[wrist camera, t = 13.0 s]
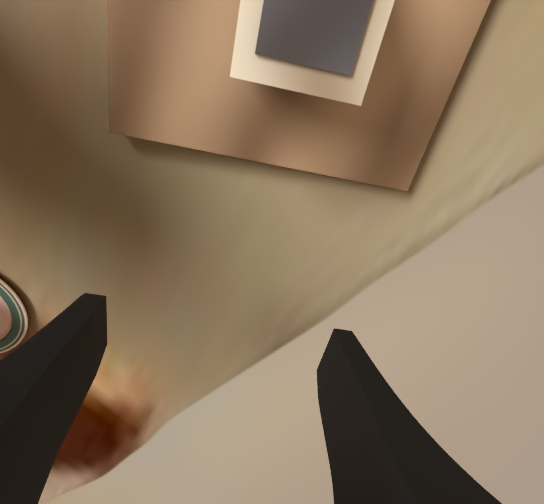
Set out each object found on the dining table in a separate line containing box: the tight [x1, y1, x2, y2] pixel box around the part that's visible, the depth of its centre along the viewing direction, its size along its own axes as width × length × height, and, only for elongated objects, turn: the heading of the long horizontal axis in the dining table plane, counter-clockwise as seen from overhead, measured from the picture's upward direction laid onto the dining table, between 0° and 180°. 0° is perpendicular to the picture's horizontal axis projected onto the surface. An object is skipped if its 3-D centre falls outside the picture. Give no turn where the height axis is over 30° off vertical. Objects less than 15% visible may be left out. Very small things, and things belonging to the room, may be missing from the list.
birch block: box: [230, 0, 395, 106], centre depth 12 cm, size 4×4×5 cm
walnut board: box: [108, 0, 491, 191], centre depth 15 cm, size 14×12×1 cm
